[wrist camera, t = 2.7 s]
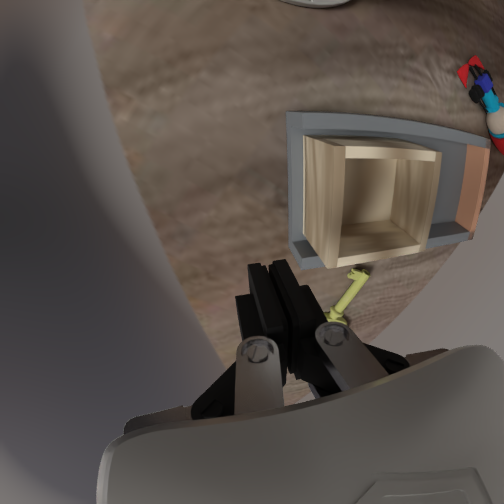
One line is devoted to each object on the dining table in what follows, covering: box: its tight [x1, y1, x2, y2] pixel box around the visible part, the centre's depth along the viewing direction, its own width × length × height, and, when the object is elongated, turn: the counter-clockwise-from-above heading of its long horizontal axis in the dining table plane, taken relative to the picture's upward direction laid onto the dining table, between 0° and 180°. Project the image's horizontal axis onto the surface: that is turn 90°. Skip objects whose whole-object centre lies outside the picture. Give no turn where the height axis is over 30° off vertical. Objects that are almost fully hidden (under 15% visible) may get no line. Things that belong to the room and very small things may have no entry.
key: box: [324, 268, 370, 325], centre depth 32 cm, size 7×12×2 cm, turn 176°
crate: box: [303, 135, 442, 269], centre depth 21 cm, size 10×9×6 cm
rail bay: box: [286, 111, 491, 270], centre depth 23 cm, size 24×13×4 cm, turn 94°
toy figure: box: [457, 55, 504, 155], centre depth 20 cm, size 8×5×15 cm
